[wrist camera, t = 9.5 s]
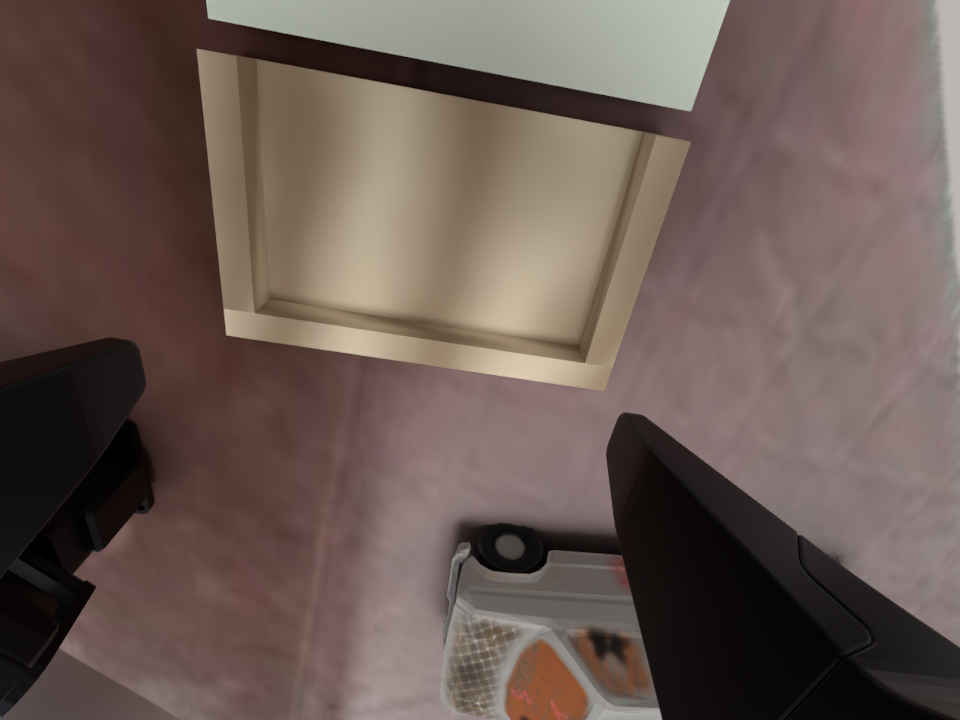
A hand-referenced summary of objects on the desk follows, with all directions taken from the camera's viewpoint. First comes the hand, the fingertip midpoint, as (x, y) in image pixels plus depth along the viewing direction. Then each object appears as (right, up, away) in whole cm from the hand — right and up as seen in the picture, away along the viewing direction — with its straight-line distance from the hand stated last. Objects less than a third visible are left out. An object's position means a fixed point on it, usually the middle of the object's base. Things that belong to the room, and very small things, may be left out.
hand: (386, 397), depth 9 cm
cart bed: (0, +6, +11) cm, 13 cm away
